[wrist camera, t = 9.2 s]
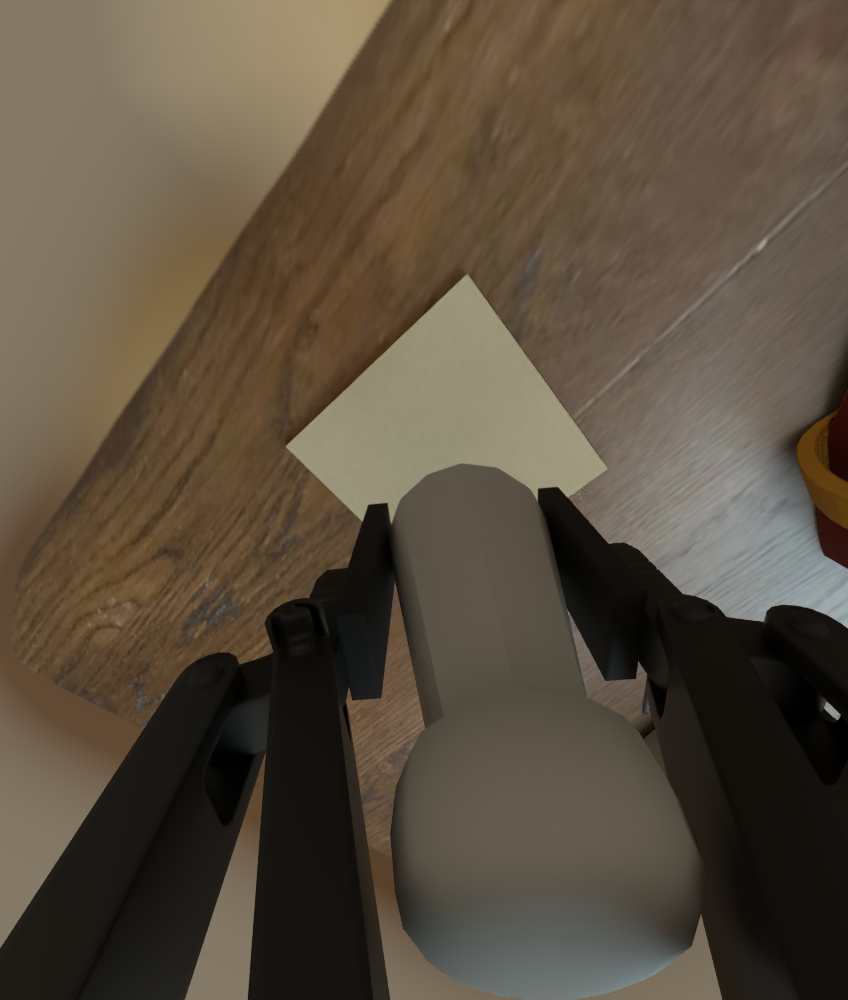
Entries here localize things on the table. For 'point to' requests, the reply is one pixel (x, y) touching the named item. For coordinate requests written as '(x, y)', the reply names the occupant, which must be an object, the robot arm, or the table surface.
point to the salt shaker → (523, 768)
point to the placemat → (445, 413)
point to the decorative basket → (828, 478)
